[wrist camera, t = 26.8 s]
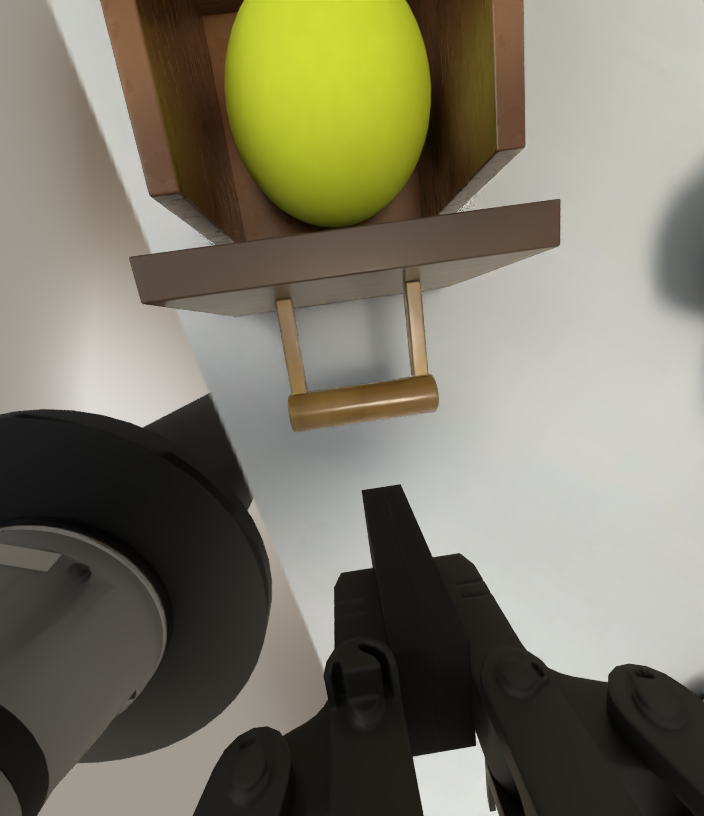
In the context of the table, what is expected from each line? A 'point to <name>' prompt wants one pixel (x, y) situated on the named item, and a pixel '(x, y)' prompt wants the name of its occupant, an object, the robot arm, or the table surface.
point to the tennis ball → (328, 103)
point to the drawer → (314, 245)
